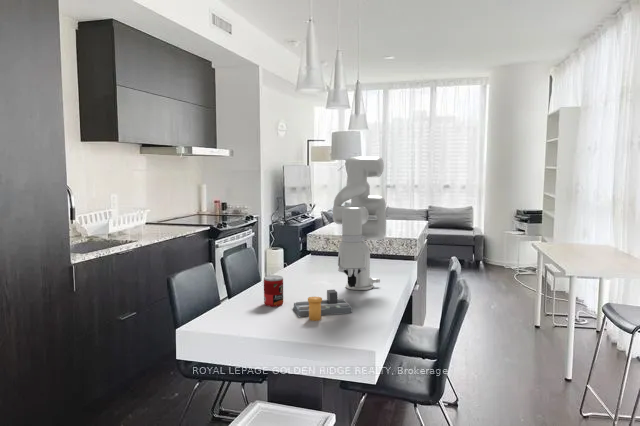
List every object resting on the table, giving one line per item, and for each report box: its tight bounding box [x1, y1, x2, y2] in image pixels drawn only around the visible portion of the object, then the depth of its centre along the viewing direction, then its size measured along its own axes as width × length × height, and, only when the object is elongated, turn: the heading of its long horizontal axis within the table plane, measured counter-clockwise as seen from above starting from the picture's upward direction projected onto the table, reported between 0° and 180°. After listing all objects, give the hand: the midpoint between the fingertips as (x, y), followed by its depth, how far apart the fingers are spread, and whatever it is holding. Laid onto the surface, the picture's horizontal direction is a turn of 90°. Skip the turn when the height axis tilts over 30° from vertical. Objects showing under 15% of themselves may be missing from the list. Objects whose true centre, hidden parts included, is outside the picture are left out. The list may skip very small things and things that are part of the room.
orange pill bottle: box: [307, 296, 323, 322], centre depth 167 cm, size 5×5×8 cm
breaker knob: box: [326, 289, 338, 304], centre depth 179 cm, size 3×4×5 cm
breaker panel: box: [293, 298, 353, 318], centre depth 178 cm, size 20×12×3 cm, turn 103°
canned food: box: [263, 274, 284, 308], centre depth 187 cm, size 8×8×11 cm
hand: (351, 286), depth 180 cm, fingers closed
